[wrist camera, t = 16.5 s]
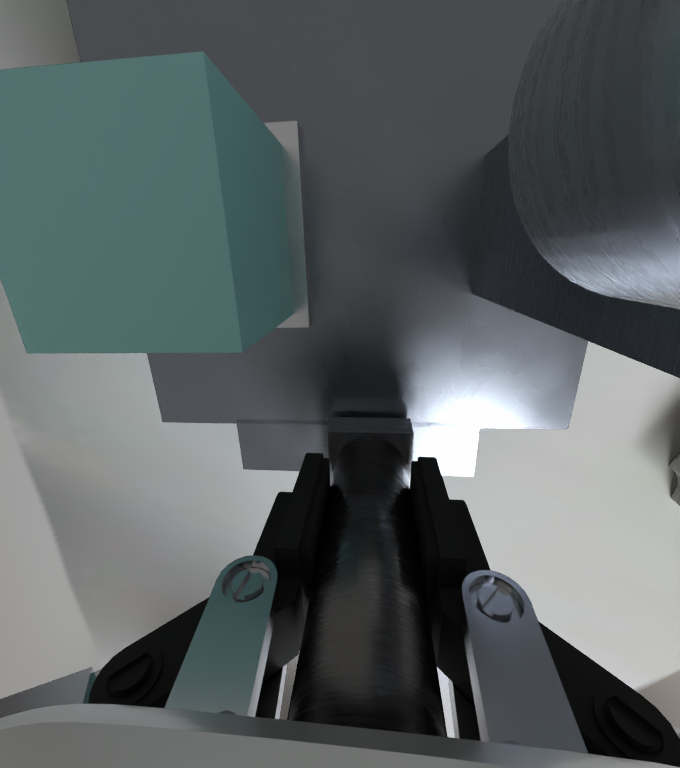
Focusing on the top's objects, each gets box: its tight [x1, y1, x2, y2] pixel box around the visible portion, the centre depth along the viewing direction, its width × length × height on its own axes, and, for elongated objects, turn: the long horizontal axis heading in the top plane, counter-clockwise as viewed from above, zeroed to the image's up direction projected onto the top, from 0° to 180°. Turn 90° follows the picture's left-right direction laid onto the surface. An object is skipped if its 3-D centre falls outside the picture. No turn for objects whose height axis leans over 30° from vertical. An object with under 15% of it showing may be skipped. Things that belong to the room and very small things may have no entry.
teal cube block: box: [0, 51, 294, 353], centre depth 9 cm, size 5×5×5 cm
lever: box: [287, 417, 447, 737], centre depth 9 cm, size 3×3×10 cm
